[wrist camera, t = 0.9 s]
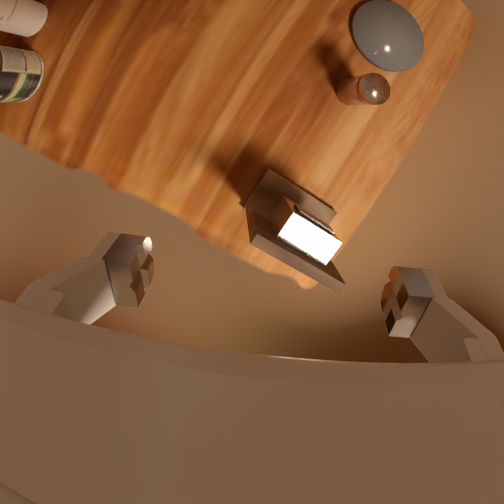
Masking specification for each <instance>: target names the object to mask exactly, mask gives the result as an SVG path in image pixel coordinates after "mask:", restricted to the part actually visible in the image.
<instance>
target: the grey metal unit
mask: <svg viewBox="0 0 504 504" xmlns="http://www.w3.org/2000/svg"><path fill="white" fill-rule="evenodd" d="M269 219H270V222H271V225H272V228H273V231H274V234H275V237H276V238H277V239H278V240H280V241H282V242H283V243H285V244H287V245H289V246H290V247H292V248H294V249H295V250H297V251H299V252H301V253H302V254H304V255H306V256H307V257H309V258H311V259H313V260H314V261H316V262H318V263H319V264H321V265H323V266H325V265H326V264H327V262H328V261H329V260H330V258H331V257H332V256H333V254H334V253H335V252H336V250H337V249H338V248H339V246H340V245H341V244H342V242H341V241H340V240H339V239H338V237H337V236H336V235H335V232H334V231H333V230H332V229H331V227H330V226H329V225H328V224H327V223H325V222H324V221H322V220H321V219H319V218H318V217H316V216H315V215H313V214H312V213H310V212H308V211H307V210H305V209H304V208H302V207H300V206H299V205H297V204H296V203H294V202H293V201H291V200H289V199H288V198H286V197H283V198H282V200H281V201H280V203H279V204H278V206H277V207H276V209H275V210H274V212H273V213H272V215H271V216H270V218H269Z"/></svg>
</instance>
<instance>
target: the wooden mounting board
mask: <svg viewBox="0 0 504 504" xmlns="http://www.w3.org/2000/svg"><path fill="white" fill-rule="evenodd" d="M283 197H286V198H288V199H289V200H291V201H293V202H294V203H296V204H297V205H299V206H300V207H302V208H304V209H305V210H307V211H308V212H310V213H312V214H313V215H315V216H316V217H318V218H319V219H321V220H322V221H324V222H325V223H327V224H328V225H329V223H330V222H331V221H332V219H333V218H334V216H335V215H336V214H337V213H336V212H335V211H334V210H333V209H332V208H330V207H329V206H327V205H326V204H324V203H323V202H321V201H320V200H318V199H317V198H315V197H313V196H312V195H310V194H309V193H307V192H306V191H304V190H303V189H301V188H300V187H298V186H297V185H295V184H293V183H292V182H290V181H289V180H287V179H286V178H284V177H282V176H281V175H279V174H278V173H276V172H274V171H273V170H271V169H269V168H268V169H267V170H266V172H265V174H264V175H263V177H262V178H261V180H260V181H259V183H258V184H257V186H256V187H255V189H254V191H253V192H252V194H251V195H250V197H249V198H248V200H247V201H246V203H245V205H244V206H243V210H244V211H246V215H247V222H248V230H249V237H250V244H251V245H253V246H255V247H257V248H259V249H260V250H262V251H264V252H266V253H268V254H269V255H271V256H273V257H275V258H277V259H278V260H280V261H282V262H284V263H286V264H287V265H289V266H291V267H293V268H294V269H296V270H298V271H300V272H302V273H303V274H305V275H307V276H309V277H311V278H312V279H314V280H316V281H318V282H320V283H321V284H323V285H325V286H327V287H329V288H331V289H332V290H334V291H336V292H338V293H340V292H341V290H342V289H343V288H344V287H345V286H346V284H345V282H344V281H343V279H342V277H341V276H340V274H339V272H338V271H337V269H336V268H335V266H334V264H333V263H332V261H331V259H330V260H329V261H328V262H327V264H326V265H325V266H323V265H321V264H319V263H318V262H316V261H314V260H313V259H311V258H309V257H307V256H306V255H304V254H302V253H301V252H299V251H297V250H295V249H294V248H292V247H290V246H289V245H287V244H285V243H283V242H282V241H280V240H278V239H277V238H276V237H275V234H274V231H273V228H272V225H271V222H270V219H269V218H270V216H271V215H272V213H273V212H274V210H275V209H276V207H277V206H278V204H279V203H280V201H281V200H282V198H283Z"/></svg>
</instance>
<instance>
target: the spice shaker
mask: <svg viewBox="0 0 504 504" xmlns="http://www.w3.org/2000/svg"><path fill="white" fill-rule="evenodd" d="M336 94H337V97H338V99H339V100H340V101H341V102H342V103H344V104H346V105H380V104H383V103H385V102H386V101H387V100H388V98H389V96H390V86H389V83H388V81H387V80H386V79H385V78H384V77H383V76H382V75H380V74H377V73H369V74H365V75H362V76H358V77H354V78H350V79H346V80H343V81H341V82H340V83H339V84H338V85H337V88H336Z"/></svg>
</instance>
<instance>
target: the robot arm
mask: <svg viewBox="0 0 504 504" xmlns="http://www.w3.org/2000/svg"><path fill="white" fill-rule="evenodd" d="M151 249H152V244H151V239H150V238H149V237H145V236H138V235H131V234H122V233H115V232H109V233H107V234H106V235H105V237H104V238H103V239H102V240H101V242H100V243H99V244H98V245H97V247H96V248H95V249H94V250H93V251H92V253H91V254H90V255H89V256H88V258H86V257H83V258H81V259H79V260H77V261H75V262H73V263H71V264H69V265H66V266H64V267H62V268H60V269H58V270H56V271H54V272H52V273H50V274H48V275H46V276H44V277H42V278H40V279H38V280H36V281H34V282H32V283H30V284H29V286H28V287H27V288H26V289H25V290H24V292H23V293H22V294H21V296H20V297H19V298H18V299H17V301H16V302H15V303H11V302H8V301H5V300H2V299H0V504H504V353H503V351H502V349H501V347H500V344H499V342H498V340H497V338H496V337H495V336H494V335H493V334H492V333H491V332H490V331H489V330H488V329H486V328H485V327H484V326H483V325H482V324H481V323H479V322H478V321H477V320H476V319H475V318H473V317H472V316H471V315H470V314H469V313H467V312H466V311H465V310H464V309H463V308H461V307H460V306H459V305H457V304H456V303H455V302H454V301H453V300H451V299H448V298H447V296H446V294H445V292H444V290H443V288H442V286H441V284H440V282H439V280H438V278H437V276H436V274H435V272H434V271H433V270H432V269H424V268H411V267H400V266H393V267H392V269H391V271H390V273H389V278H390V282H388V283H387V284H386V285H385V286H384V288H383V291H382V294H381V309H382V312H383V313H384V314H385V315H386V316H387V318H386V320H385V324H386V328H387V332H388V335H389V336H395V337H409V338H410V339H411V340H412V342H413V343H414V344H415V345H416V346H417V348H418V349H419V350H420V351H421V353H422V354H423V355H424V356H425V358H426V359H427V360H428V361H429V363H369V362H346V361H329V360H314V359H302V358H291V357H280V356H270V355H260V354H252V353H243V352H235V351H228V350H220V349H214V348H207V347H200V346H194V345H188V344H182V343H176V342H170V341H165V340H160V339H154V338H149V337H144V336H139V335H134V334H129V333H124V332H120V331H115V330H111V329H106V328H102V327H98V326H93V325H90V324H91V323H92V322H94V321H95V320H97V319H98V318H99V317H101V316H102V315H103V314H105V313H106V312H107V311H109V310H110V309H111V308H113V307H114V306H115V305H116V304H119V305H125V306H132V307H139V305H140V303H141V301H142V299H143V297H144V295H145V291H144V288H146V287H147V286H149V285H150V283H151V281H152V278H153V274H154V260H153V258H152V257H151V255H150V254H149V252H150V251H151Z"/></svg>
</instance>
